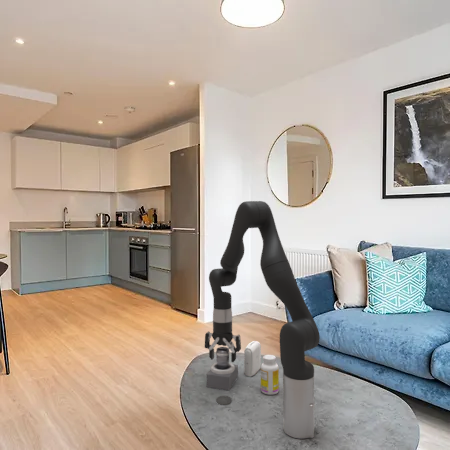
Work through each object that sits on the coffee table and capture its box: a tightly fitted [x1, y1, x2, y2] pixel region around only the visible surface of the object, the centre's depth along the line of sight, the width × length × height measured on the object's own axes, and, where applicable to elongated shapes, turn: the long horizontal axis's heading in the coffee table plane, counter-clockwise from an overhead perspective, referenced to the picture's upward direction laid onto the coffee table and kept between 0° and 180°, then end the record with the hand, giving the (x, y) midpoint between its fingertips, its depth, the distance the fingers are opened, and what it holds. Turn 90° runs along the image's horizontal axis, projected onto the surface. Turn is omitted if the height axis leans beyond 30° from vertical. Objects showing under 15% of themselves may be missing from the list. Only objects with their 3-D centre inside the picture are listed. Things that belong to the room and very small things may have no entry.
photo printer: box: [243, 340, 262, 377], centre depth 153 cm, size 10×4×12 cm, turn 152°
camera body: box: [206, 361, 239, 391], centre depth 143 cm, size 9×12×6 cm
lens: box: [215, 346, 231, 370], centre depth 143 cm, size 5×5×8 cm
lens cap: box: [215, 395, 233, 406], centre depth 128 cm, size 6×6×1 cm
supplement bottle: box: [260, 354, 280, 396], centre depth 135 cm, size 7×7×13 cm
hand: (222, 360), depth 143 cm, fingers open, 8 cm apart
